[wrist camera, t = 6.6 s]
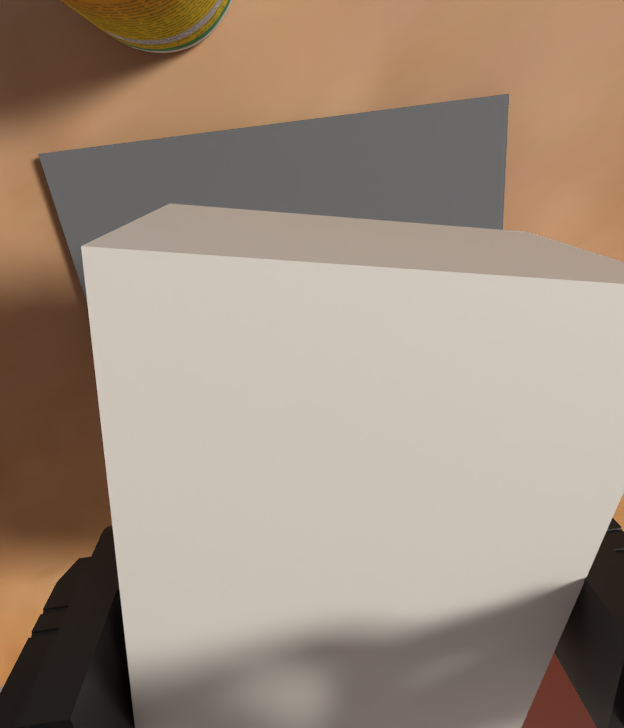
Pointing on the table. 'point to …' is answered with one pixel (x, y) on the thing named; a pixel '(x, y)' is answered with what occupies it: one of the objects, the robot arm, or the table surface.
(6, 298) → the table surface
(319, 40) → the table surface
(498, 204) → the mat
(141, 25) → the supplement bottle
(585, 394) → the riser block
